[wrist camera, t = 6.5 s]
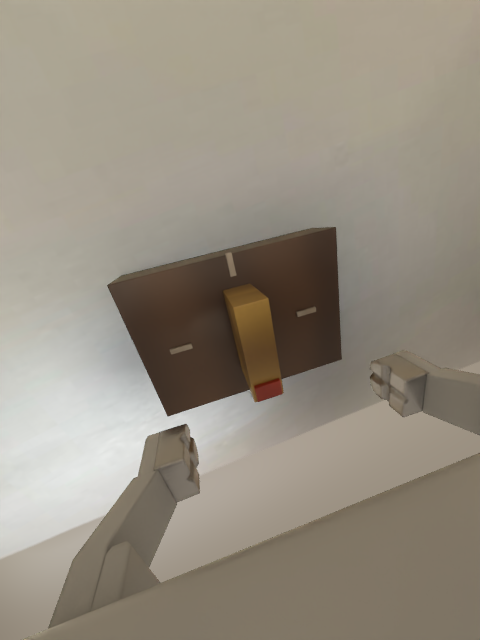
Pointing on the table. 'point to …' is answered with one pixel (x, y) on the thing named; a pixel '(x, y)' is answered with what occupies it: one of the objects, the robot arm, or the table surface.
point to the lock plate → (213, 320)
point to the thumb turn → (254, 340)
